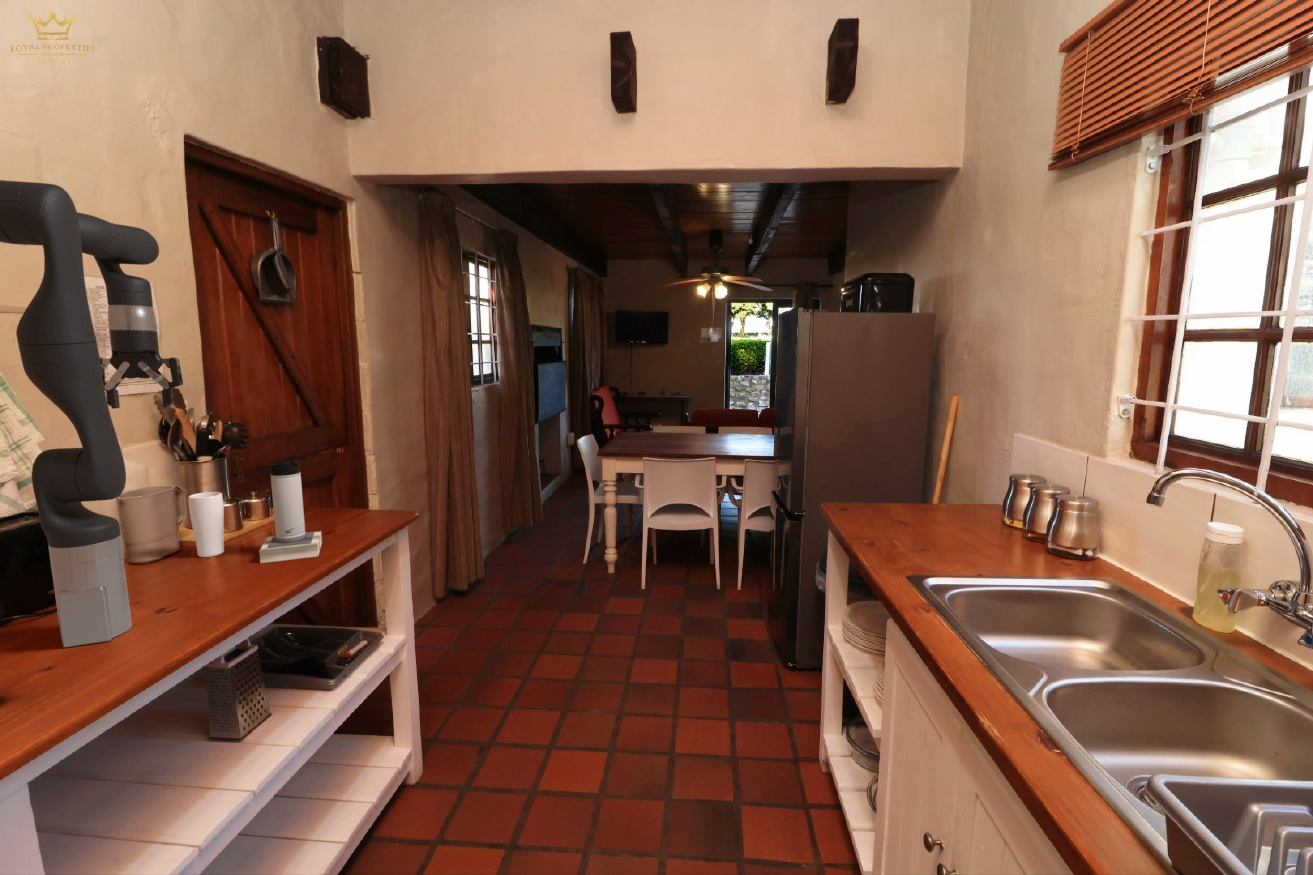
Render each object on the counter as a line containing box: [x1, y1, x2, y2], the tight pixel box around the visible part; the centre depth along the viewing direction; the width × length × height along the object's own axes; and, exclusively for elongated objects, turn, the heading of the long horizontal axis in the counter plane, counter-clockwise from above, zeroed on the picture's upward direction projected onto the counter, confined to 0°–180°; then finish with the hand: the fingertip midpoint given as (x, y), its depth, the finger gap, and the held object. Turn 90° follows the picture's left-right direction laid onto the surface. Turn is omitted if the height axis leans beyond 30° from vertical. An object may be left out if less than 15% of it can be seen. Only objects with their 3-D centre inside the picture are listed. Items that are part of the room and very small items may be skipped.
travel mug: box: [269, 459, 306, 543], centre depth 150 cm, size 6×7×20 cm
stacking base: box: [258, 530, 323, 564], centre depth 152 cm, size 12×12×3 cm
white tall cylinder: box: [187, 491, 225, 558], centre depth 149 cm, size 7×7×15 cm
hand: (141, 407), depth 128 cm, fingers open, 8 cm apart
